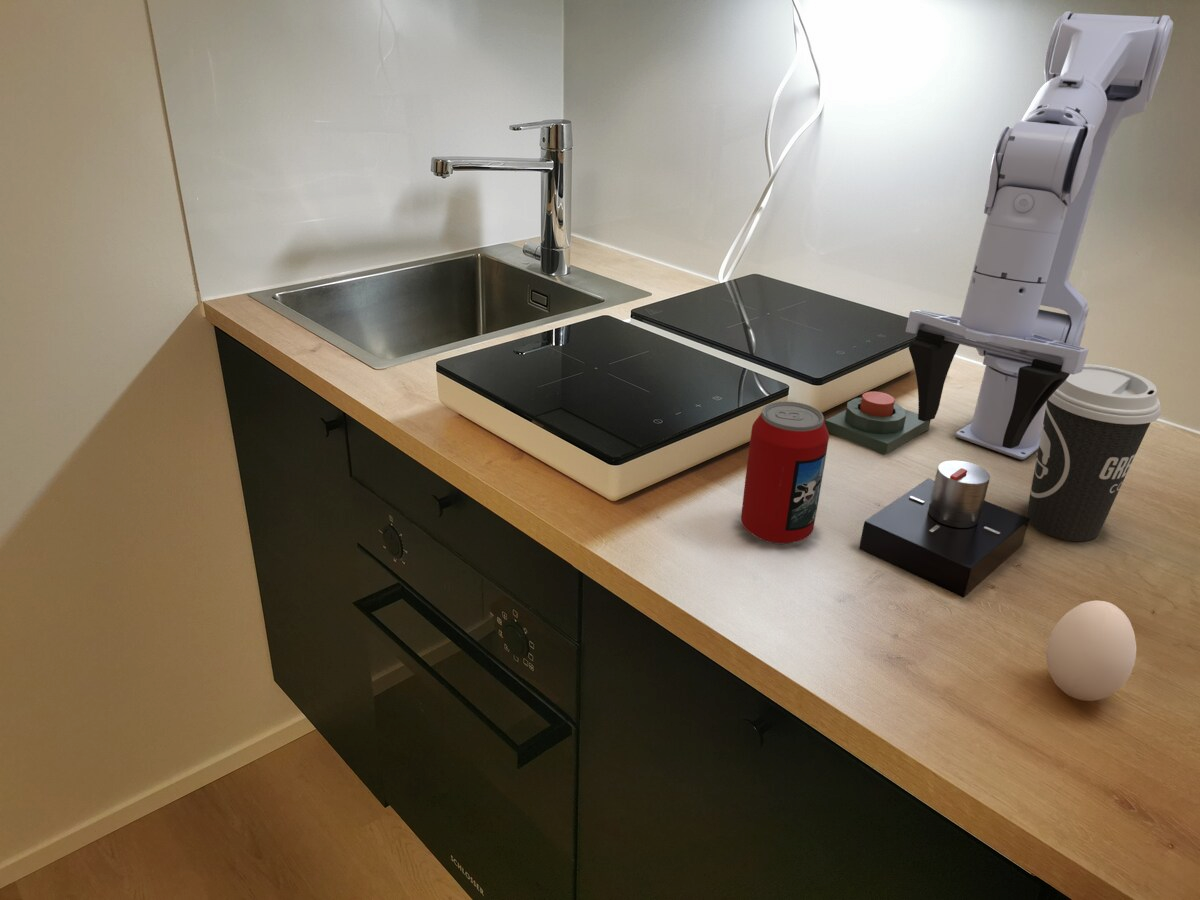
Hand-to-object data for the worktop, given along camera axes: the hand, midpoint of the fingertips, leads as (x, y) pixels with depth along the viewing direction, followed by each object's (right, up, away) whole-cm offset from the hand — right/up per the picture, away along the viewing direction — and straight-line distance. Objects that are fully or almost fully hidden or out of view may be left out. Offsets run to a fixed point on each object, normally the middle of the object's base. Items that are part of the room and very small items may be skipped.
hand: (967, 432), depth 79 cm
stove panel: (-1, -11, +4) cm, 11 cm away
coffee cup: (+13, -9, +9) cm, 18 cm away
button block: (0, +1, +26) cm, 26 cm away
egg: (+3, -20, -13) cm, 24 cm away
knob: (0, -7, +3) cm, 8 cm away
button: (-1, +3, +24) cm, 24 cm away
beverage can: (-16, -9, +6) cm, 19 cm away
